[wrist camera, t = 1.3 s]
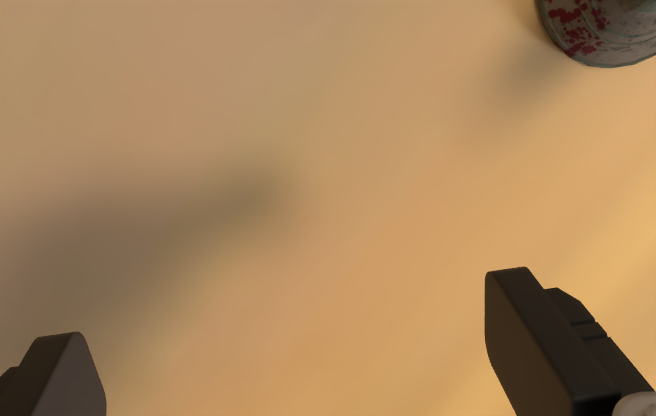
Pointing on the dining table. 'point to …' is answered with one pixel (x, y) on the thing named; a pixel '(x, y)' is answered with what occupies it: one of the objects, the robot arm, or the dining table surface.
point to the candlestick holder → (602, 30)
